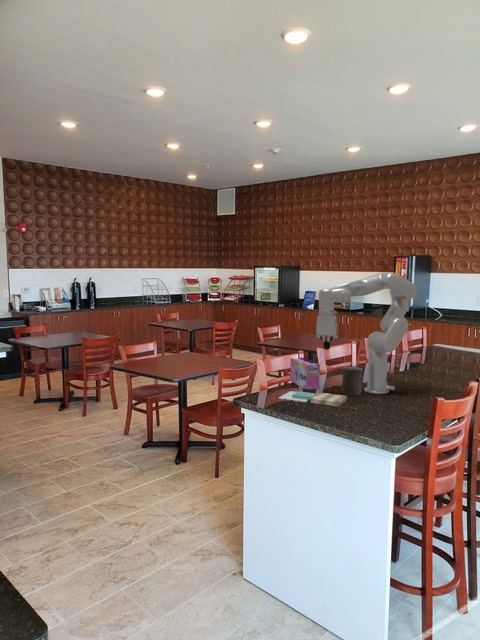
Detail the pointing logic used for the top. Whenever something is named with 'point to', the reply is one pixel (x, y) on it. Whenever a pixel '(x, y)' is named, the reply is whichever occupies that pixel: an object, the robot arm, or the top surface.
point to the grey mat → (289, 397)
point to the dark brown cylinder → (351, 381)
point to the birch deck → (328, 399)
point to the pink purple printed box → (305, 373)
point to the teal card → (303, 395)
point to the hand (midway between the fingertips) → (327, 349)
